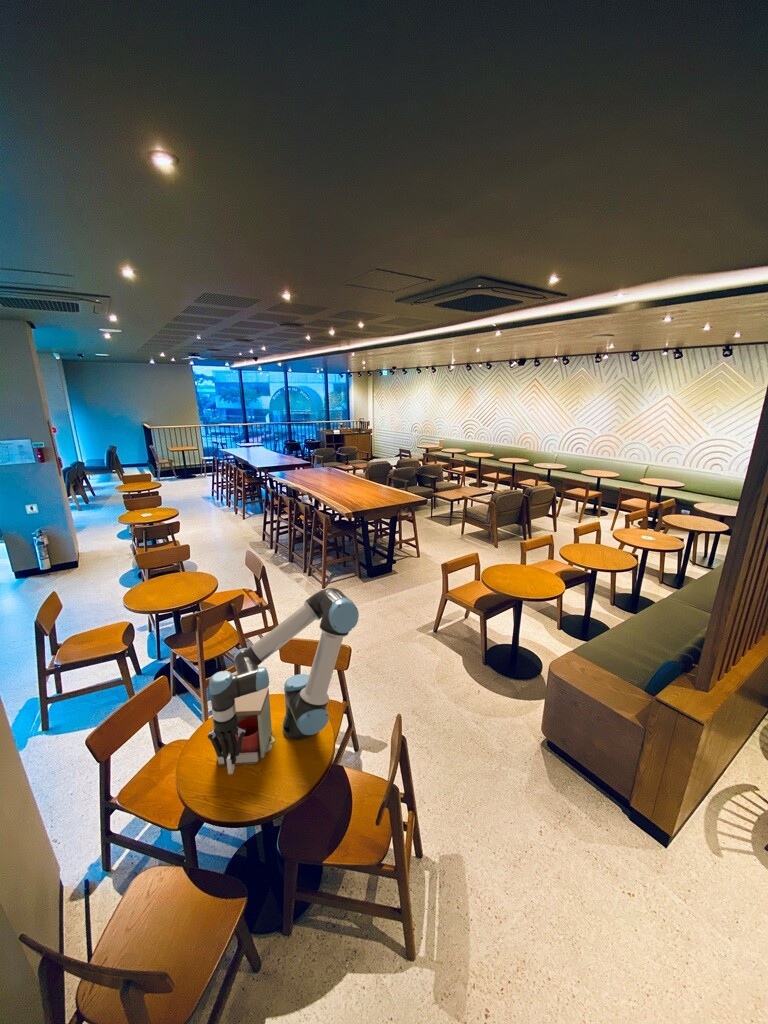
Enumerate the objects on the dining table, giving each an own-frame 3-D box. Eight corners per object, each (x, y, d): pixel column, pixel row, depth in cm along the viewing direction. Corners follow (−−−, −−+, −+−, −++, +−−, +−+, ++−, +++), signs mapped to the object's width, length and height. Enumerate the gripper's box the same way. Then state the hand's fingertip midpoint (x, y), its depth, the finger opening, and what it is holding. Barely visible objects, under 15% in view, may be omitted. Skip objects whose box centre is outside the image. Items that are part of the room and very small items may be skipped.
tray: (266, 734, 165) (265, 725, 164) (257, 763, 151) (257, 754, 150) (230, 736, 164) (230, 727, 163) (218, 765, 150) (217, 756, 149)
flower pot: (230, 755, 154) (227, 734, 152) (246, 734, 164) (244, 714, 162) (254, 760, 151) (252, 739, 149) (269, 739, 162) (267, 718, 160)
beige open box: (271, 730, 167) (268, 687, 163) (264, 757, 154) (260, 711, 149) (228, 732, 166) (224, 689, 162) (216, 760, 153) (211, 713, 148)
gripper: (246, 706, 142) (252, 761, 147) (209, 708, 141) (216, 763, 147) (240, 721, 135) (246, 778, 140) (201, 724, 134) (209, 781, 139)
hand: (231, 770), depth 143 cm, fingers closed
